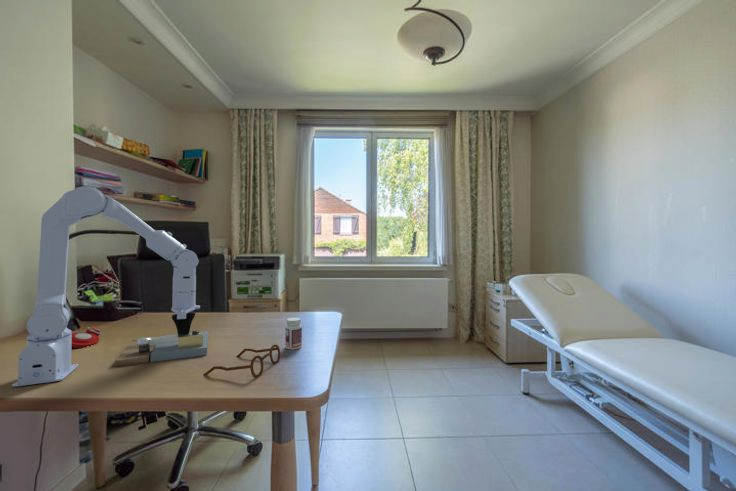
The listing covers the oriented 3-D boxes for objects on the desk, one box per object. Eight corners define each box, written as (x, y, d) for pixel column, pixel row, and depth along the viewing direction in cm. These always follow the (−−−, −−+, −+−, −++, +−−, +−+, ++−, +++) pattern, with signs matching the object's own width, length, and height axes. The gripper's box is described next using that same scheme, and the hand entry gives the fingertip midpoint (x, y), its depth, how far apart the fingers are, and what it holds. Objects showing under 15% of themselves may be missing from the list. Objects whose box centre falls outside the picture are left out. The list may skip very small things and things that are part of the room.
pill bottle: (303, 345, 95) (304, 317, 95) (298, 350, 90) (299, 321, 90) (288, 344, 95) (288, 316, 95) (282, 349, 90) (283, 320, 90)
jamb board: (148, 362, 79) (148, 351, 79) (115, 366, 76) (115, 355, 76) (160, 342, 96) (160, 333, 96) (133, 345, 93) (133, 335, 93)
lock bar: (135, 347, 81) (135, 338, 81) (138, 344, 84) (138, 335, 84) (199, 340, 87) (199, 332, 87) (199, 337, 90) (199, 329, 90)
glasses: (253, 382, 69) (254, 360, 69) (202, 376, 72) (203, 355, 72) (281, 361, 82) (281, 342, 82) (237, 357, 85) (237, 338, 85)
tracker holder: (101, 342, 92) (54, 340, 86) (96, 356, 92) (49, 355, 86) (104, 324, 101) (63, 321, 95) (100, 337, 102) (58, 335, 95)
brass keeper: (203, 345, 87) (203, 334, 87) (178, 348, 84) (178, 337, 84) (203, 341, 91) (203, 330, 91) (179, 343, 88) (179, 333, 88)
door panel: (206, 354, 85) (206, 347, 85) (150, 362, 80) (150, 354, 80) (208, 337, 101) (208, 331, 101) (161, 342, 96) (161, 335, 96)
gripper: (199, 294, 84) (198, 344, 84) (201, 287, 97) (200, 331, 97) (168, 295, 81) (167, 348, 81) (174, 288, 94) (174, 333, 94)
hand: (183, 339), depth 89 cm, fingers closed
